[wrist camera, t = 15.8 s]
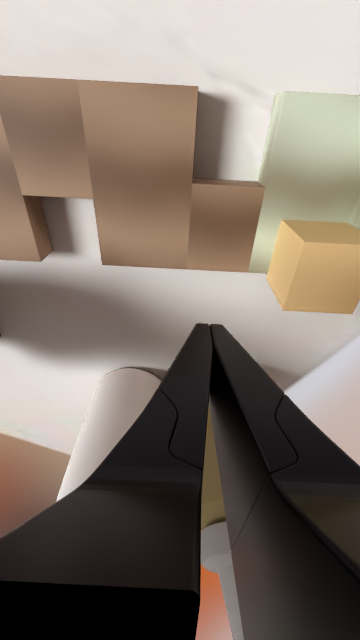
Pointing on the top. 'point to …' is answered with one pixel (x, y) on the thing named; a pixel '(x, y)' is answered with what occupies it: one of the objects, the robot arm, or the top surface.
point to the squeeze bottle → (217, 533)
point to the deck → (167, 172)
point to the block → (316, 267)
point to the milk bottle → (107, 421)
